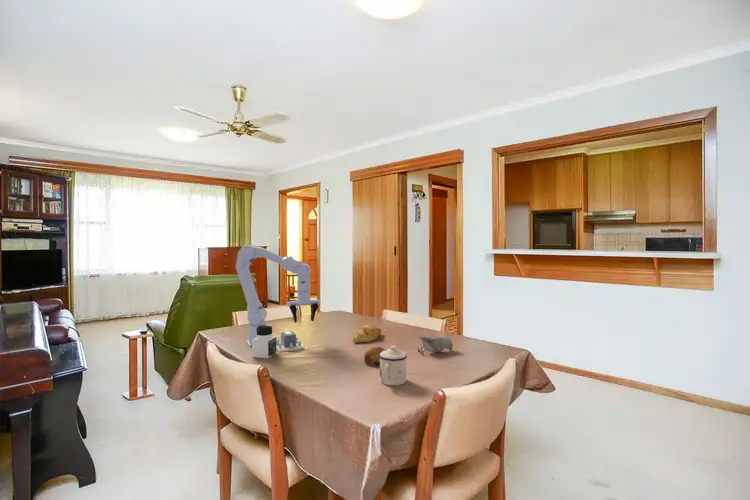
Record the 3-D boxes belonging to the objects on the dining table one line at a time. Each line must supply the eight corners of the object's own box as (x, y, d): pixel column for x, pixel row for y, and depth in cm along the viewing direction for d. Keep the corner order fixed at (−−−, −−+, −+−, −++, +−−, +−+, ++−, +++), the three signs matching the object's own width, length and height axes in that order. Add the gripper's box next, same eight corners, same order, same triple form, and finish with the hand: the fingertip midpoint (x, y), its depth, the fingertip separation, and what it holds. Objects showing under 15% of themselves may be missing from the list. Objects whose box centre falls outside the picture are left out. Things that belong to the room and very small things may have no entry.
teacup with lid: (385, 374, 136) (385, 341, 136) (410, 378, 133) (410, 344, 132) (371, 387, 125) (371, 350, 125) (398, 391, 121) (398, 354, 121)
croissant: (358, 352, 175) (365, 338, 172) (342, 339, 179) (349, 324, 177) (384, 341, 192) (390, 328, 190) (369, 329, 197) (375, 316, 194)
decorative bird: (455, 352, 164) (455, 334, 164) (422, 357, 157) (422, 338, 157) (448, 349, 169) (448, 331, 168) (415, 353, 162) (415, 335, 162)
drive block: (281, 343, 172) (281, 332, 172) (292, 342, 175) (292, 330, 174) (284, 347, 166) (284, 335, 166) (296, 346, 168) (296, 334, 168)
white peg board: (273, 344, 173) (273, 338, 173) (297, 342, 178) (297, 336, 178) (278, 352, 162) (278, 345, 162) (304, 349, 167) (304, 342, 167)
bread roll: (391, 370, 151) (394, 349, 154) (384, 367, 142) (387, 344, 145) (367, 368, 154) (370, 347, 157) (359, 364, 145) (362, 342, 148)
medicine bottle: (268, 358, 154) (268, 328, 153) (251, 357, 155) (251, 327, 155) (276, 353, 161) (276, 324, 160) (260, 352, 162) (260, 323, 162)
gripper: (289, 293, 169) (289, 324, 169) (322, 291, 175) (322, 321, 175) (286, 291, 175) (286, 321, 175) (317, 289, 181) (317, 318, 181)
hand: (303, 321), depth 176 cm, fingers open, 7 cm apart
